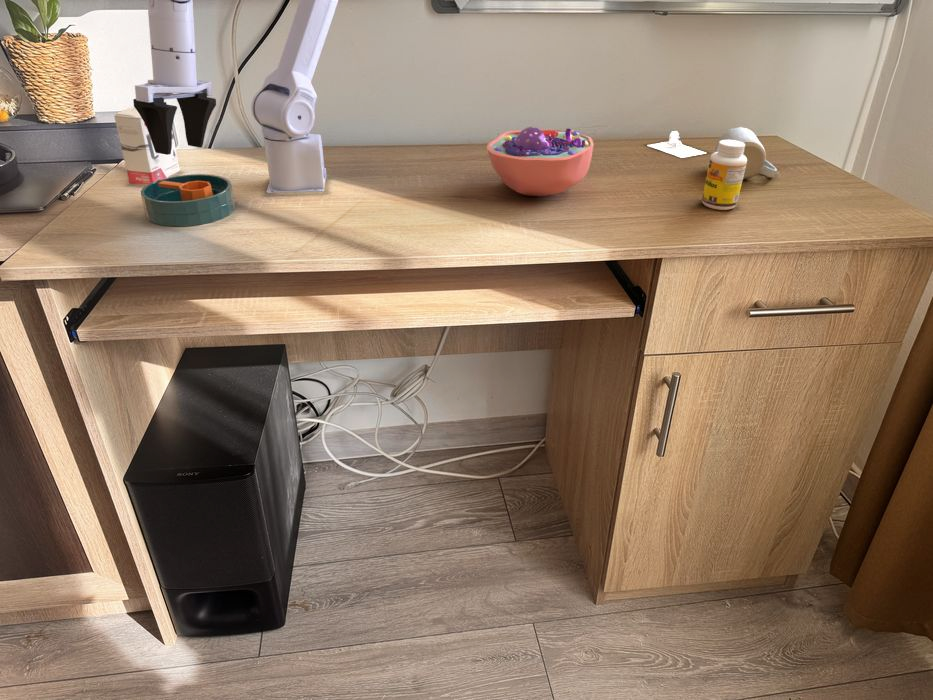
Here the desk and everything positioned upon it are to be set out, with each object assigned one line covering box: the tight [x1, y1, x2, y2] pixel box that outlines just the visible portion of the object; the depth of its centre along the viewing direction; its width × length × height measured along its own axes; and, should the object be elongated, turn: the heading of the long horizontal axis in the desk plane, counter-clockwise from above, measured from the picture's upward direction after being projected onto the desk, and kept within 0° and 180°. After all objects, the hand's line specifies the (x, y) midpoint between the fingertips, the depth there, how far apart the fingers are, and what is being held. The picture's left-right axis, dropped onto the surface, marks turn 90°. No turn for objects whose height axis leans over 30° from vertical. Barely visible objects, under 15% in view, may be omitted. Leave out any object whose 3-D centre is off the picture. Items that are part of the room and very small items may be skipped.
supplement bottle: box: [701, 140, 747, 211], centre depth 109 cm, size 6×6×10 cm
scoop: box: [158, 181, 213, 201], centre depth 105 cm, size 8×4×4 cm, turn 73°
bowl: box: [140, 173, 236, 227], centre depth 105 cm, size 13×13×4 cm
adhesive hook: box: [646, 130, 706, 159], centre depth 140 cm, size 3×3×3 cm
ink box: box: [114, 106, 181, 186], centre depth 117 cm, size 9×5×12 cm, turn 168°
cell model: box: [486, 126, 595, 197], centre depth 114 cm, size 17×20×11 cm
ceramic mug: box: [714, 126, 778, 180], centre depth 124 cm, size 11×8×8 cm
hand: (179, 149), depth 101 cm, fingers open, 7 cm apart
